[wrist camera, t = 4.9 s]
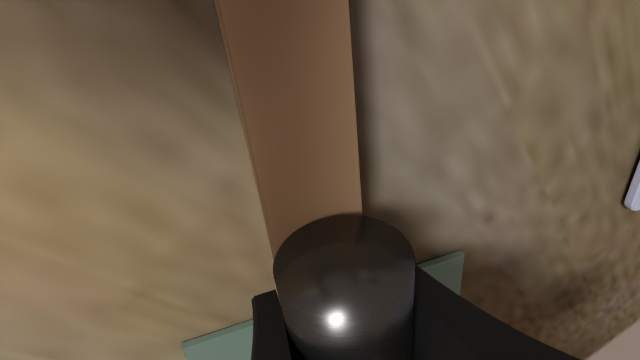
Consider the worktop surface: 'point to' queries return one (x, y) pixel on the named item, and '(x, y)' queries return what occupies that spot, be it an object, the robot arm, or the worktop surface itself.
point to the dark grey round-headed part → (347, 290)
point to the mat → (236, 341)
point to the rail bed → (295, 107)
